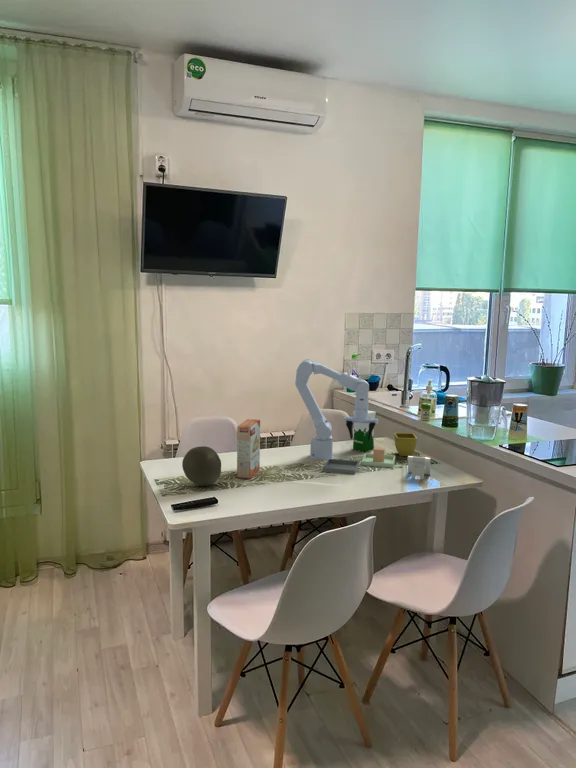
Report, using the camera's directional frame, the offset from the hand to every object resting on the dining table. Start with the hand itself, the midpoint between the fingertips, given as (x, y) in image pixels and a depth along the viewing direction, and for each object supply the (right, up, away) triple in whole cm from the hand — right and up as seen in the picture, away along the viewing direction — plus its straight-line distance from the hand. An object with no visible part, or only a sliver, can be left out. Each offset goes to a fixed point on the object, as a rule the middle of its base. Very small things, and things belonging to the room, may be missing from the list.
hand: (360, 439), depth 249 cm
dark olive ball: (-63, -15, -33) cm, 73 cm away
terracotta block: (+7, -9, -3) cm, 12 cm away
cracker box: (-47, -12, -18) cm, 52 cm away
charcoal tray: (-9, -11, -12) cm, 19 cm away
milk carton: (+4, -7, +18) cm, 20 cm away
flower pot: (+21, -8, +10) cm, 25 cm away
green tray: (+7, -10, -3) cm, 13 cm away
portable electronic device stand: (+21, -13, -20) cm, 31 cm away
